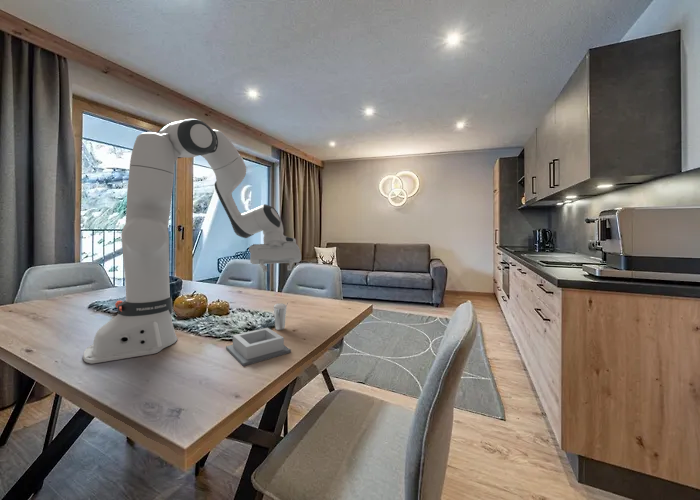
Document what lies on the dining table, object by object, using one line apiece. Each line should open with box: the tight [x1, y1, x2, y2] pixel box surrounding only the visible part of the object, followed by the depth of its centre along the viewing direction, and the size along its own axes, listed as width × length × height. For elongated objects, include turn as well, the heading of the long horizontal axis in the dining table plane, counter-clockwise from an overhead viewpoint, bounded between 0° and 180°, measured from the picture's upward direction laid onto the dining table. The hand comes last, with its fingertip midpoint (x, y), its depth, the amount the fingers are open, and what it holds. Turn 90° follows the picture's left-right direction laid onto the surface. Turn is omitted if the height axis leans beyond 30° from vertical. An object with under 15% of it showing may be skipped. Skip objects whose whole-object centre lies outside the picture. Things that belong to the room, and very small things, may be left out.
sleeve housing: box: [225, 327, 292, 367], centre depth 87 cm, size 14×14×4 cm
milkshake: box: [273, 302, 289, 331], centre depth 106 cm, size 5×5×10 cm
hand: (277, 270), depth 116 cm, fingers open, 8 cm apart
